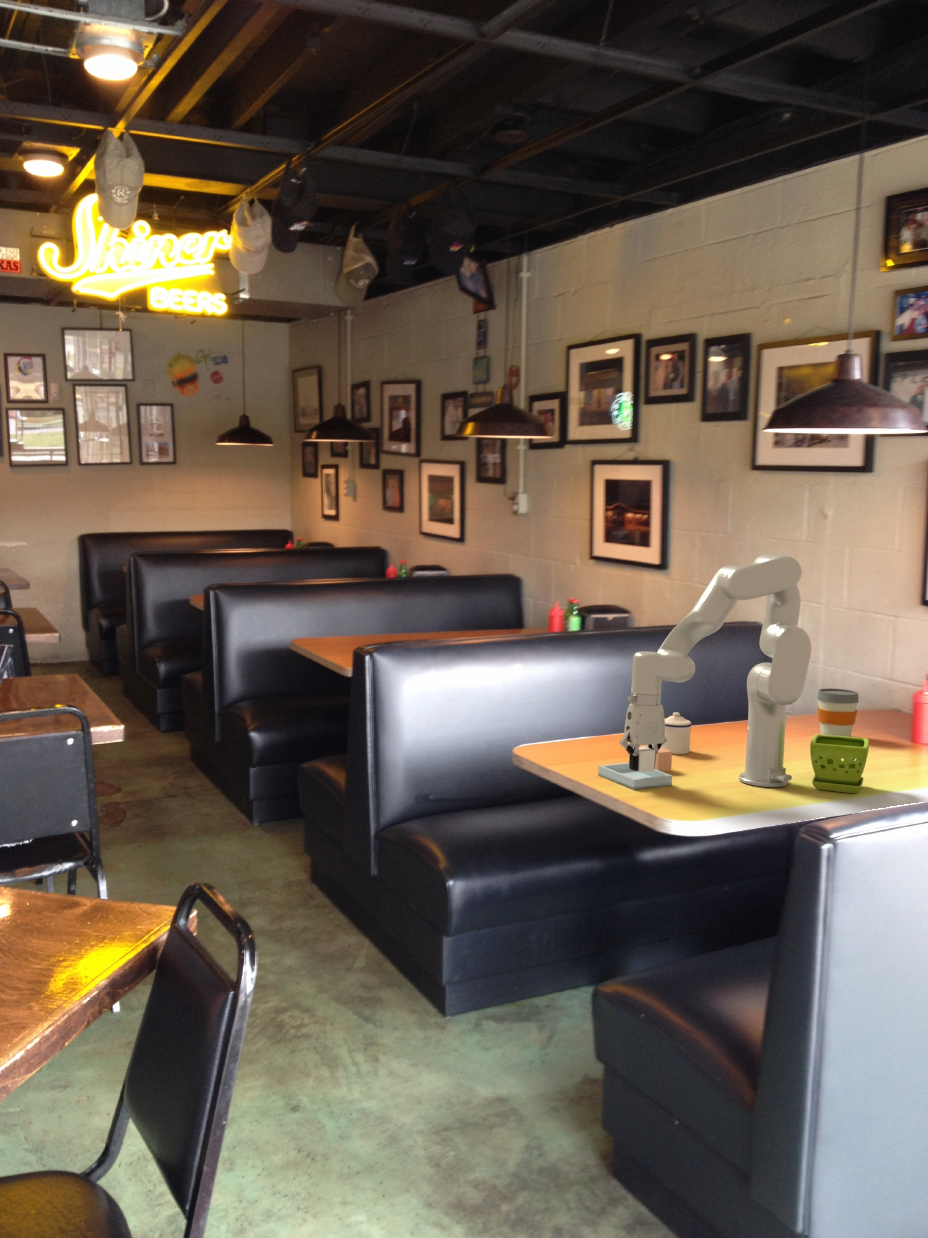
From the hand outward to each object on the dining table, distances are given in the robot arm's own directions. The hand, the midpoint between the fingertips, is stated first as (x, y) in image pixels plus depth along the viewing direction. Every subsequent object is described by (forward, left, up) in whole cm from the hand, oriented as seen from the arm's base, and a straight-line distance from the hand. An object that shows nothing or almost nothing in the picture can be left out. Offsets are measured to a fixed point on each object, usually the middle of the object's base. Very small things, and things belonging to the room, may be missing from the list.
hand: (641, 768), depth 264 cm
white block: (0, 0, 0) cm, 0 cm away
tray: (+3, 0, -4) cm, 5 cm away
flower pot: (-23, -46, -4) cm, 51 cm away
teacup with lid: (+28, -32, -4) cm, 43 cm away
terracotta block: (+10, -14, -4) cm, 18 cm away
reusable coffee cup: (+24, -95, -4) cm, 98 cm away
